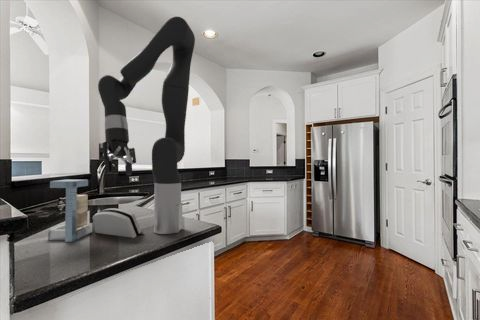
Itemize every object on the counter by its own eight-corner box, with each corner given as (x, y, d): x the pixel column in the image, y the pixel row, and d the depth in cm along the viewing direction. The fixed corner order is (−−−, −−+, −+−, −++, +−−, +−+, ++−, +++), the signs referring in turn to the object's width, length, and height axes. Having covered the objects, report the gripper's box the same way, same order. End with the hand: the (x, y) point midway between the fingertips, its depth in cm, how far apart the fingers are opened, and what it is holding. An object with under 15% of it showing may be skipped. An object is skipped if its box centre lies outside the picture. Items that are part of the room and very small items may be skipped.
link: (87, 226, 92) (87, 194, 92) (80, 229, 88) (81, 196, 88) (76, 226, 92) (77, 194, 92) (69, 229, 88) (69, 196, 88)
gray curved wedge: (144, 233, 83) (138, 207, 80) (135, 242, 79) (127, 215, 76) (107, 228, 88) (99, 204, 85) (96, 236, 84) (88, 211, 81)
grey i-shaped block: (92, 232, 84) (92, 179, 84) (71, 242, 74) (72, 181, 74) (67, 232, 84) (68, 178, 84) (42, 242, 73) (44, 181, 74)
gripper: (108, 122, 80) (111, 170, 77) (139, 132, 93) (142, 173, 90) (91, 127, 82) (93, 174, 79) (123, 136, 95) (126, 176, 92)
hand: (119, 174), depth 85 cm, fingers open, 8 cm apart
